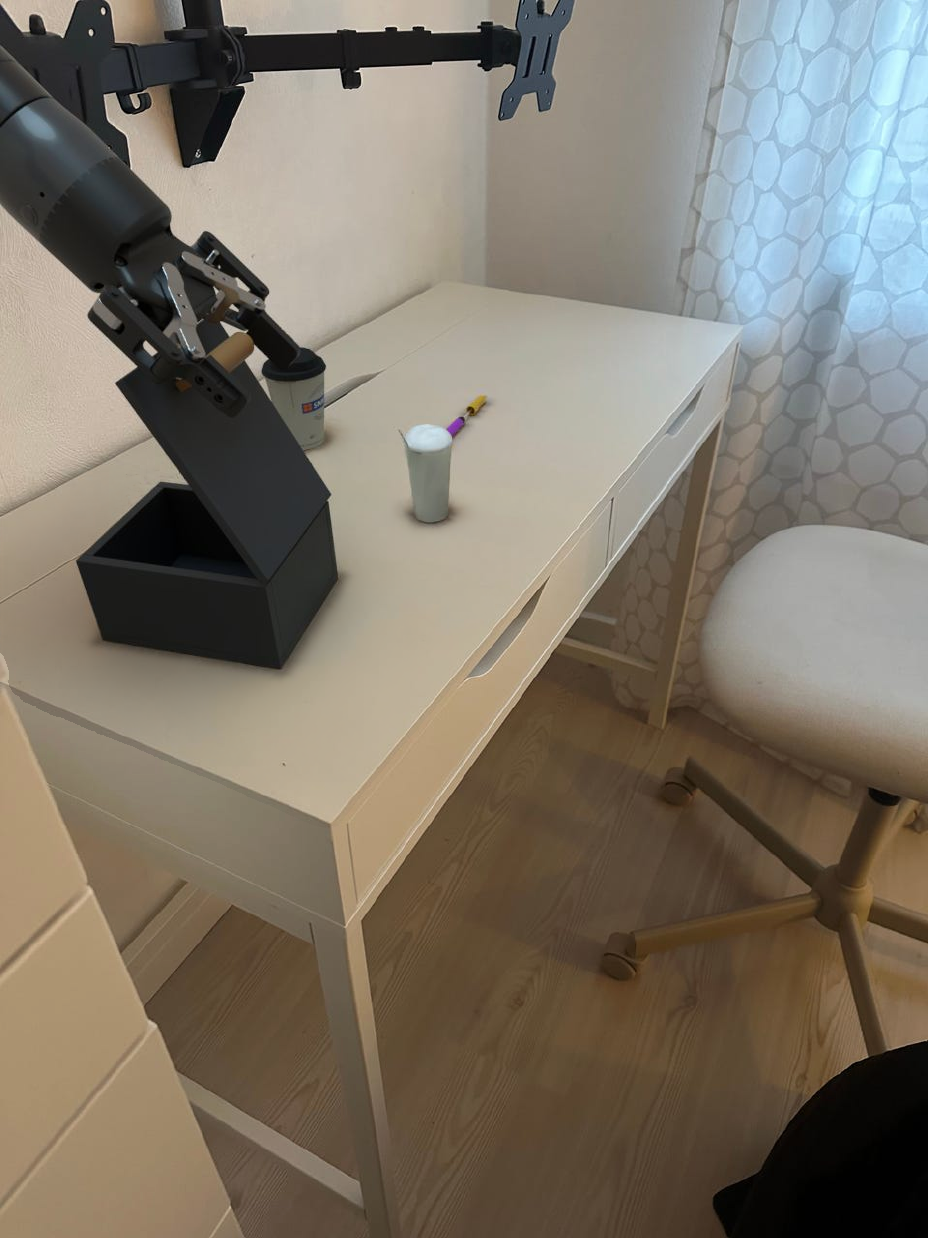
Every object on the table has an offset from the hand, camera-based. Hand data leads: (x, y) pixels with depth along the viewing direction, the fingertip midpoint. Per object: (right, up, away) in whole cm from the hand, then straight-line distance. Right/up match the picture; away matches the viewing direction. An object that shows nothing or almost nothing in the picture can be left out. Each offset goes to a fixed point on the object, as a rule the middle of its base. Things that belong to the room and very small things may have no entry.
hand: (269, 383), depth 62 cm
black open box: (-7, -16, +14) cm, 22 cm away
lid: (-4, -4, +4) cm, 7 cm away
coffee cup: (-5, +4, +39) cm, 40 cm away
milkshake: (+10, -6, +26) cm, 28 cm away
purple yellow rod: (+12, +6, +42) cm, 44 cm away
